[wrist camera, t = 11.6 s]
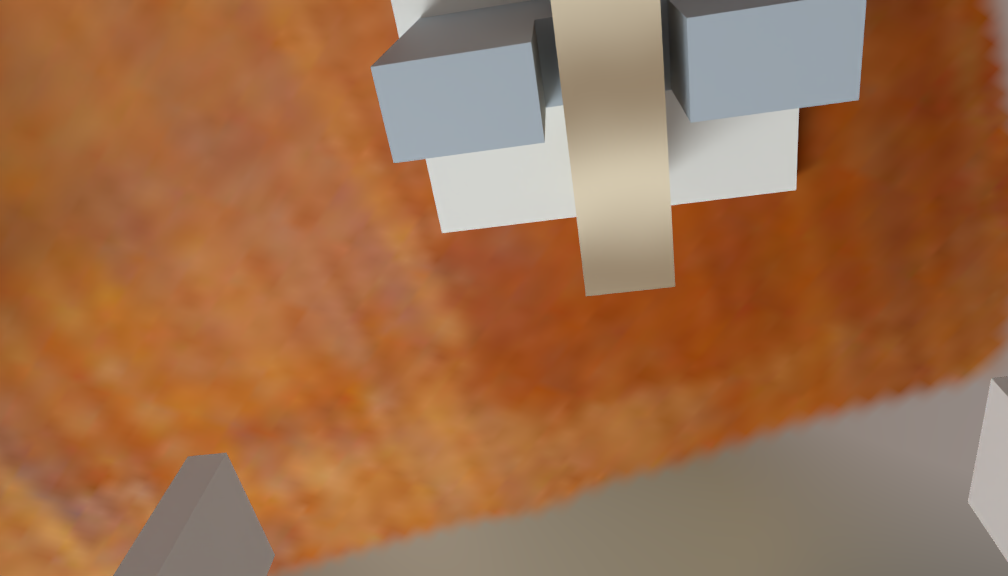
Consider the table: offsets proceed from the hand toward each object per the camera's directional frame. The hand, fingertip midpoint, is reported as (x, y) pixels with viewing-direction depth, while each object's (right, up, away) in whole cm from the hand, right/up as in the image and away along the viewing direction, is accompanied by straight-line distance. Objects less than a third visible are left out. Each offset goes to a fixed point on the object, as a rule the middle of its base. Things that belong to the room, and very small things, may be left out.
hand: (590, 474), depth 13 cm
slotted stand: (+2, +14, +17) cm, 22 cm away
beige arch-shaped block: (+2, +14, +16) cm, 21 cm away
